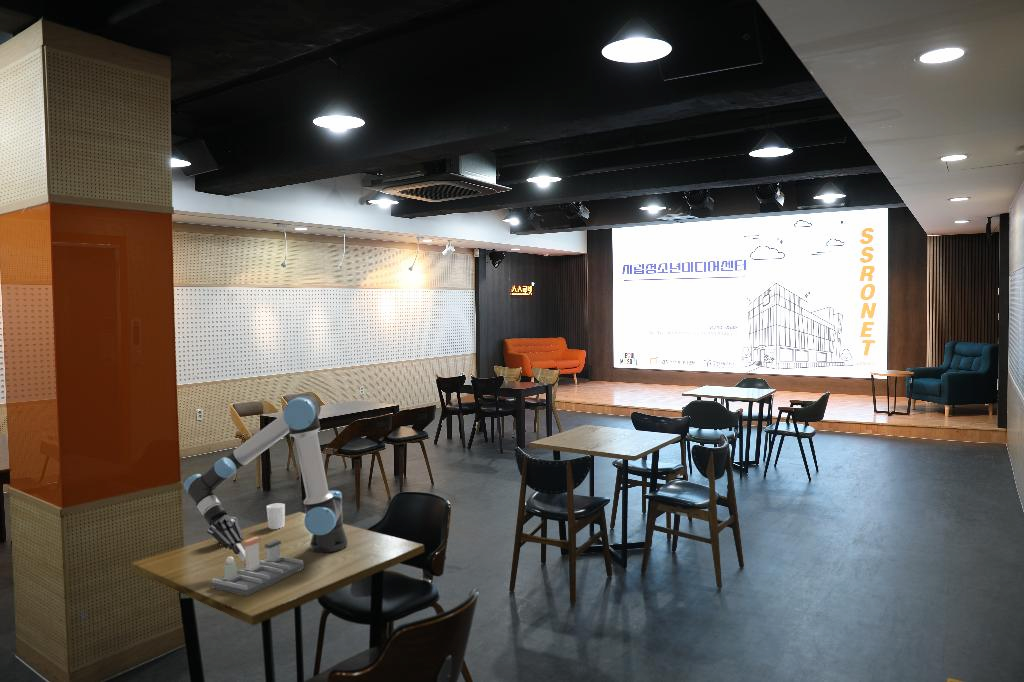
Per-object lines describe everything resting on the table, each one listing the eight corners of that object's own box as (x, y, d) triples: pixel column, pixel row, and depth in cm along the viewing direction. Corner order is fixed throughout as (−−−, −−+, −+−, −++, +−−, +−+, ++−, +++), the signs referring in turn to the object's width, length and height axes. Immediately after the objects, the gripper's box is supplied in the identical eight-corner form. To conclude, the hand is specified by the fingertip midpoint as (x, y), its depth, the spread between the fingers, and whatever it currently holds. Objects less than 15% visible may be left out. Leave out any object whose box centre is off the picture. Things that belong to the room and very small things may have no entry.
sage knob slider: (221, 581, 245) (220, 558, 244) (232, 576, 249) (231, 553, 249) (229, 583, 243) (228, 559, 243) (240, 578, 247) (239, 555, 247)
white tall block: (243, 572, 253) (241, 541, 253) (255, 566, 258) (253, 536, 258) (250, 573, 252) (249, 542, 251) (262, 568, 257) (261, 537, 256)
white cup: (271, 524, 318) (270, 503, 318) (288, 524, 318) (287, 502, 317) (264, 530, 310) (263, 508, 310) (282, 529, 310) (281, 507, 309)
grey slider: (264, 562, 262) (263, 544, 262) (275, 557, 267) (274, 539, 267) (271, 564, 260) (271, 545, 260) (282, 559, 265) (282, 540, 265)
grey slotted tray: (211, 587, 246) (210, 578, 246) (269, 561, 270) (269, 553, 270) (247, 595, 238) (247, 586, 237) (304, 568, 262) (303, 560, 261)
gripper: (221, 511, 270) (254, 559, 264) (193, 521, 259) (226, 571, 252) (230, 499, 268) (263, 547, 261) (202, 508, 256) (236, 559, 249)
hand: (245, 559), depth 256 cm, fingers closed
